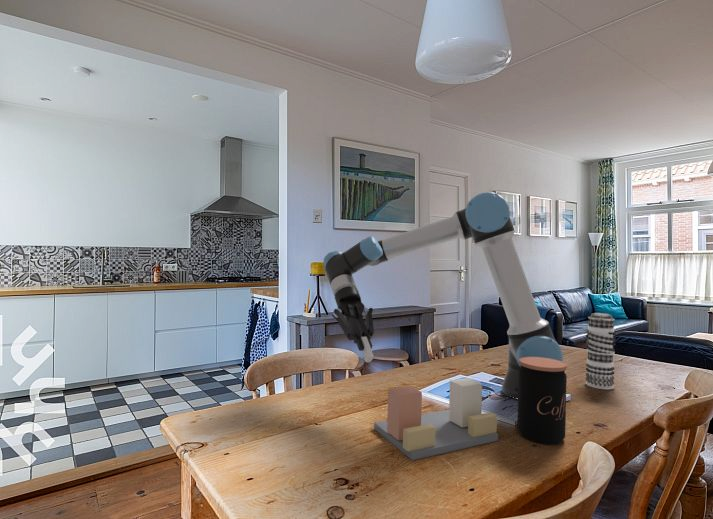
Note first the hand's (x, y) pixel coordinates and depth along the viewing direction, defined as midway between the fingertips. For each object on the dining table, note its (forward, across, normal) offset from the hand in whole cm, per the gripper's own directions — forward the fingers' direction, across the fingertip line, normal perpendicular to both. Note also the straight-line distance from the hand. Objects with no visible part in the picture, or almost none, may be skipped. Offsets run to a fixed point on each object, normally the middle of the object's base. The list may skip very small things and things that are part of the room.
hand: (369, 359), depth 108 cm
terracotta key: (+22, 0, +3) cm, 22 cm away
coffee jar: (+31, -33, +9) cm, 46 cm away
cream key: (+22, -18, +3) cm, 28 cm away
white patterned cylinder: (+16, -87, -5) cm, 89 cm away
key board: (+23, -9, +2) cm, 25 cm away
